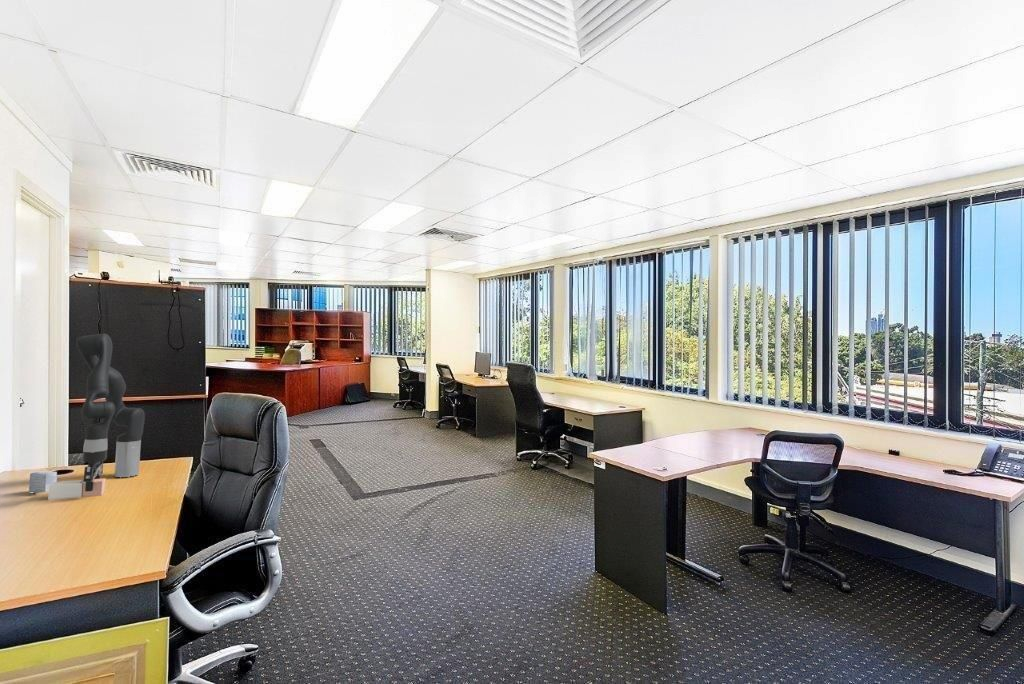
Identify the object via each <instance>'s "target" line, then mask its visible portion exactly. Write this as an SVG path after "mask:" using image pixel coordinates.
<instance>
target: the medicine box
mask: <svg viewBox="0 0 1024 684" xmlns="http://www.w3.org/2000/svg"><path fill="white" fill-rule="evenodd" d="M57 477H58V471H51V470H49V471H48V470H40V471H39V470H38V471H35V472H34V471H33V472H31V473H30V475H29V483H28V484H29V485H28V486H29V487H28V488H29V489H28V493H29V492H33V493H38V494H39V493H41V492H42V493H46V492H49V485H50V484H52V483H54V482H58V478H57Z"/></svg>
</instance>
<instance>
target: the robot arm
mask: <svg viewBox="0 0 1024 684" xmlns="http://www.w3.org/2000/svg"><path fill="white" fill-rule="evenodd" d="M76 347H77V349H78V352H79V354H80V356H81V357H82V358H83V360H84V362H85V363H86V364H87V366H88V368H89V369H90V373H89V374H88V376H87V378H86V396H85V400H84V403H83V404H82V408H81V411H80V414H81V416H82V418H83V419H85V420H95V419H96V420H97V419H101V421H100V422H97V423H94V424H93V423H92V424H89V425H87V426H86V428H85V436H84V437H85V438H84V443H83V450H82V451H83V452H82V462H83V463H88V465H87V466H85V467H84V474H83V479H82V480H83V481H84V482H86V487H85V491H86V492H87V491H92V490H93V481H94V479H101V477H102V474H103V473H104V472H103V471H104V462H105V461H106V460H107V457H108V456H107V455H108V441H109V440H108V437H109V436H108V435H109V434H108V433H109V427H110V423H111V420H112V421H113V422H114V424H115V425H116V426H118V427H123V428H124V427H125V428H128V429H127V431H126V432H124V433H120V434H119V435H117V437H116V445H115V446H116V448H115V461H114V462H115V463H114V474H113V475H114V476H115V477H120V478H119V479H122V478H121V477H128V478H131V477H130V476H134V477H136V476H135V475H137V476H139V475H138V474H140V464H141V463H140V462H141V461H140V460H141V459H140V458H141V447H142V446H141V444H142V436H143V434H144V426H145V418H146V417H145V416H146V415H145V410H143V408H140V407H127V406H126V405H125V403H124V401H123V397H124V395H125V393H126V390H127V385H126V382H125V380H124V377H123V375H122V373H121V372H119V371H118V370H117V369H115V368H113V367H112V366H111V362H112V354H113V342H112V338H111V337H110V335H109V334H108V333H97V334H90V335H89V334H88V335H83V336H79V337H77V338H76ZM99 355H100V356H99ZM97 356H99V357H97ZM101 399H105V401H97V400H101ZM115 477H114V478H115Z"/></svg>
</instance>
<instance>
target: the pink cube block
mask: <svg viewBox="0 0 1024 684" xmlns="http://www.w3.org/2000/svg"><path fill="white" fill-rule="evenodd" d="M106 482H107V479H106V478H103V477H102V478H100V479H94V481H93V490H92V491H87V492H86V491H85V487H86V482H84V483H83V493H82V497H81V498H85V497H97V496H98V497H99V496H103V495H104V494H105V492H106Z"/></svg>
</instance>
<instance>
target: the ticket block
mask: <svg viewBox="0 0 1024 684" xmlns="http://www.w3.org/2000/svg"><path fill="white" fill-rule="evenodd" d="M83 480H84V479H78V480H64V481H57V482H54V483H52V484H50V485H49V491H48V495H47V497H48V498H47V500H48V501H53V500H64V499H74V498H83V497H82V493H83V483H84V481H83Z"/></svg>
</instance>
